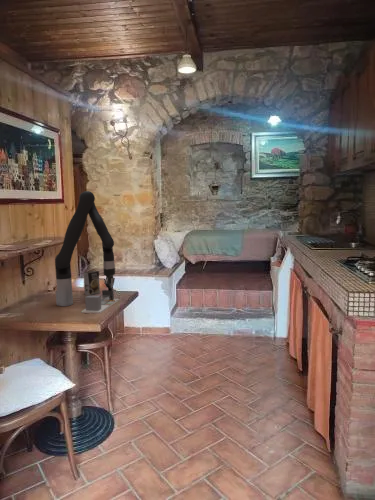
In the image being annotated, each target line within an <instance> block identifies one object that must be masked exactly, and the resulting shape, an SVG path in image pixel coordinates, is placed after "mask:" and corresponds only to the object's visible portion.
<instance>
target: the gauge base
mask: <svg viewBox="0 0 375 500" xmlns="http://www.w3.org/2000/svg"><path fill="white" fill-rule="evenodd" d="M101 297H102V295H86V296H85V297H84V301H85V308H84V309H82V310H81V311H80V312H81V314H102V313H103V312H105V311H106V310H107V309H109V308H110V307H112V306H113V305H114V304H116V303H117V302H119V301H120V299H119V298H114V299H113V300H115V301H108V302H107V303H105V304H101Z"/></svg>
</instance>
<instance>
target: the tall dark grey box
mask: <svg viewBox="0 0 375 500" xmlns="http://www.w3.org/2000/svg"><path fill="white" fill-rule="evenodd" d="M114 293H115V292H114V289H112V290H108V289H103V290H101V304H105V303H107V302H108V301H115V300H113V299H115V297H114V295H115V294H114Z"/></svg>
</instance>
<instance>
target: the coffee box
mask: <svg viewBox="0 0 375 500" xmlns="http://www.w3.org/2000/svg"><path fill="white" fill-rule="evenodd" d="M83 283H84V284H83V287H84V295H86V296H95V295H97V294H100V293H101V289H100V288H101V287H100V286H101V285H100V271H98V270H89V271H84V272H83Z"/></svg>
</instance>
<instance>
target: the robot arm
mask: <svg viewBox="0 0 375 500" xmlns="http://www.w3.org/2000/svg"><path fill="white" fill-rule="evenodd" d="M95 200H96V198H95V195H94V193H93V192H92V191H89V190H86V191H85V190H84V191H83V192H81V193H80V194H79V198H78V203H77V207H76V210H75V212H74V214H73V216H72V217H71V219H70V221H69V223H68V225H67V227H66V229H65V230H66V231H65V234H64V238H63V243H62V246H61V249H60V250H59V252H58V253H57V254H56V255H55V258H54V267H55V281H56V283H55V284H56V290H55V300H56V301H55V302H56V306H58V307H68V306H72V305H73V304H74V299H73V297H74V296H73V283H72V269H71V261H72V257H73V254H74V250H75V248H76V246H77V244H78V242H79V240H80V238H81V235H82V233H83V231H84V228H85V226H86V225H85V224H86V220H87V218H88V217H89V218H90V220H91V222H92V224H93V227H94V229H95V231H96V233H97V235H98V236H99V238H100V240H101V245H102V253H103V255H102V256H103V257H102V259H103V265H102V267H103V268H102V269H103V275H104V276H105V280H104V284H105V287H106V288H107V290H113V287H114V284H115V280H116V279H115V277H114V275H116V264H115V253H114V248H113V247H114V246H115V241H114V238H113V237H112V235H111V234H110V231H109V229H108V227H107V226H106V223H105V221H104V220H103V218H102V216H101V214H100V212H99V211H98V208H97V206H96V203H95ZM88 215H89V216H88Z"/></svg>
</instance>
